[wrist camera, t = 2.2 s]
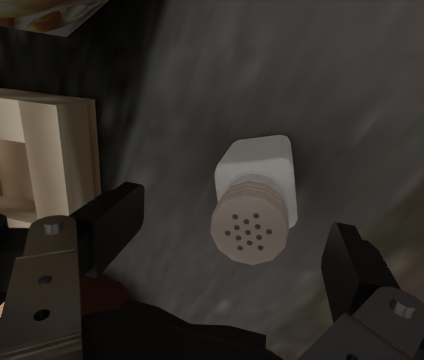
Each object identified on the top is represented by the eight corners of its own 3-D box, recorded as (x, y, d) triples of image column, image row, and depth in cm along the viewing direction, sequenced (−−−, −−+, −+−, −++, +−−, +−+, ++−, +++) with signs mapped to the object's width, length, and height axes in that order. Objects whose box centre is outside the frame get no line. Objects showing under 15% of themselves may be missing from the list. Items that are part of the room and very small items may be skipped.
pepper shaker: (238, 191, 21) (209, 273, 13) (231, 139, 20) (191, 190, 11) (294, 187, 20) (303, 273, 12) (289, 131, 19) (295, 182, 10)
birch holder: (94, 99, 21) (56, 105, 18) (104, 235, 26) (74, 262, 22) (-36, 83, 24) (-94, 85, 20) (-7, 212, 28) (-50, 233, 24)
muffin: (110, 244, 26) (17, 337, 17) (172, 334, 28) (119, 458, 19) (30, 278, 30) (-79, 367, 21) (89, 354, 33) (14, 464, 23)
